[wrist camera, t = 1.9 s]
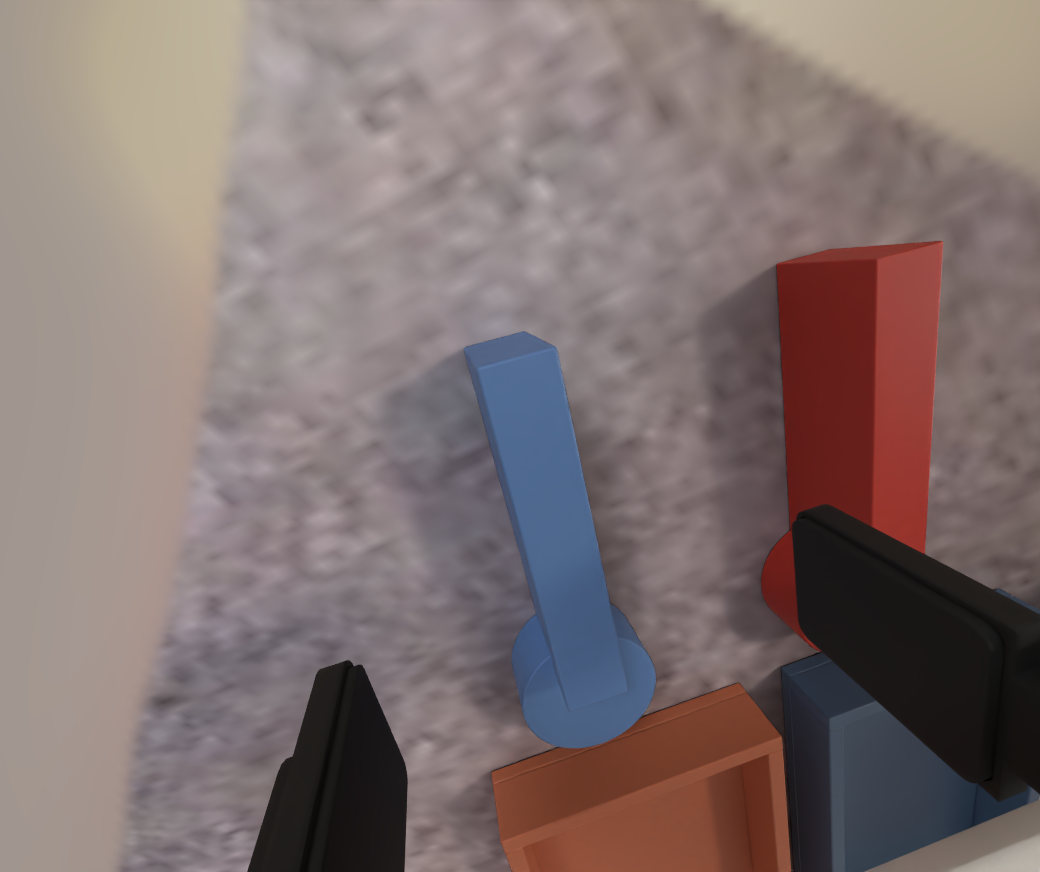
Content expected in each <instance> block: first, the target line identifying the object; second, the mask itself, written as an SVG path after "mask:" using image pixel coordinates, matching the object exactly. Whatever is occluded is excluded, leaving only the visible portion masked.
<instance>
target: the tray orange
mask: <svg viewBox="0 0 1040 872" xmlns="http://www.w3.org/2000/svg"><path fill="white" fill-rule="evenodd" d="M782 748H783V745H782V737H781V735H780V734H779V733H778V731H777V730H776V729H775V728H774V726H773V725H772V724H771V723H770V721H769V720H768V719H767V717H766V716H765V715H764V714H763V712H762V711H761V710H760V709H759V707H758V706H757V705H756V704H755V702H754V701H753V700H752V698H751V697H750V696H749V695H748V694H747V693H746V691H745V689H744V688H743V687H742V685H741V684H740V683H736V684H734V685H731V686H728V687H725V688H723V689H720V690H717V691H714V692H712V693H709V694H706V695H703V696H700V697H698V698H695V699H692V700H689V701H687V702H684V703H681V704H678V705H676V706H673V707H670V708H667V709H664V710H662V711H659V712H656V713H653V714H651V715H648V716H645V717H642V718H640V719H638V721H636V722H635V723H634V724H633V725H632V726H631V727H630V728H629V729H627V730H626V731H625V732H623V733H622V734H620V735H619V736H617V737H615V738H613V739H611V740H609V741H607V742H604V743H602V744H598V745H595V746H591V747H585V748H563V747H559V748H556V749H554V750H551V751H548V752H545V753H543V754H540V755H537V756H534V757H532V758H529V759H526V760H523V761H520V762H518V763H515V764H512V765H509V766H507V767H504V768H501V769H498V770H496V771H493V772H492V773H491V775H492V782H493V786H494V787H493V789H494V796H495V803H496V811H497V818H498V825H499V832H500V839H501V844H502V847H503V849H504V852H505V854H506V857H507V860H508V862H509V865H510V868H511V870H512V872H791V861H790V847H789V832H788V817H787V803H786V788H785V774H784V759H783V749H782Z"/></svg>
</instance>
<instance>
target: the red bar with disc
mask: <svg viewBox="0 0 1040 872" xmlns="http://www.w3.org/2000/svg"><path fill="white" fill-rule="evenodd" d="M942 257H943V241H934V242H921V243H907V244H894V245H881V246H867V247H854V248H841V249H829V250H826V251H822V252H818V253H815V254H811V255H807V256H803V257H800V258H796V259H792V260H788V261H785V262H781V263H778V264H777V281H778V300H779V320H780V340H781V360H782V379H783V399H784V419H785V439H786V459H787V478H788V498H789V518H790V531H789V532H788V533H786V534H785V535H784V536H783V537H782V538H781V539H780V540H779V541H778V543H777V544H776V545H775V546H774V548H773V549H772V551H771V552H770V554H769V556H768V558H767V560H766V562H765V565H764V568H763V572H762V578H761V588H762V593H763V596H764V599H765V601H766V603H767V605H768V606H769V607H770V609H771V610H772V611H773V612H774V613H775V614H777V615H778V616H779V617H780V618H781V619H782V620H783V621H784V622H785V623H786V624H787V625H788V626H789V627H790V628H791V629H792V630H793V631H795V632H796V633H797V634H798V635H799V636H800V637H801V638H802V639H803V640H804V641H805V642H806V643H807V644H808V645H810V646H811V647H812V648H814V649H816V650H819V649H818V648H817V647H816V646H815V645H814V644H813V643H812V642H811V641H809V640H808V638H807V637H806V636H805V635H804V634H803V632H802V630H801V628H800V626H799V623H798V612H797V598H796V584H795V569H794V555H793V541H792V523H793V522H794V521H796V517H797V514H798V513H799V512H801V511H804V510H807V509H810V508H813V507H816V506H819V505H822V504H828V505H831V506H833V507H835V508H837V509H839V510H841V511H843V512H845V513H846V514H848V515H850V516H852V517H854V518H856V519H858V520H860V521H862V522H864V523H866V524H868V525H869V526H871V527H873V528H875V529H877V530H879V531H881V532H883V533H885V534H887V535H889V536H891V537H892V538H894V539H896V540H898V541H900V542H902V543H904V544H906V545H908V546H910V547H912V548H914V549H915V550H917V551H919V552H921V553H923V554H925V540H926V524H927V507H928V490H929V474H930V457H931V440H932V424H933V407H934V390H935V373H936V357H937V340H938V323H939V307H940V290H941V273H942ZM819 651H821V650H819ZM821 652H822V651H821Z"/></svg>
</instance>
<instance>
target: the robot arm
mask: <svg viewBox="0 0 1040 872" xmlns="http://www.w3.org/2000/svg"><path fill="white" fill-rule="evenodd" d="M792 541H793V555H794V569H795V584H796V598H797V612H798V623H799V626H800V628H801V630H802V632H803V634H804V635H805V636H806V637H807V638H808V640H809V641H811V642H812V643H813V644H814V645H815V646H816V647H817V648H818V649H819V650H821V651H822V652H823V653H824V654H825V655H826V656H827V657H828V658H829V659H831V660H832V661H833V662H834V663H835V664H836V665H837V666H838V667H839V668H841V669H842V670H843V671H844V672H845V673H846V674H847V675H848V676H849V677H850V678H852V679H853V680H854V681H855V682H856V683H857V684H858V685H859V686H860V687H862V688H863V689H864V690H865V691H866V692H867V693H868V694H869V695H870V696H872V697H873V698H874V699H875V700H876V701H877V702H878V703H879V704H880V705H882V706H883V707H884V708H885V709H886V710H887V711H888V712H889V713H890V714H891V715H893V716H894V717H895V718H896V719H897V720H898V721H899V722H900V723H901V724H903V725H904V726H905V727H906V728H907V729H908V730H909V731H910V732H911V733H913V734H914V735H915V736H916V737H917V738H918V739H919V740H920V741H921V742H922V743H924V744H925V745H926V746H927V747H928V748H929V749H930V750H931V751H932V752H934V753H935V754H936V755H937V756H938V757H939V758H940V759H941V760H942V761H944V762H945V763H946V764H947V765H948V766H949V767H950V768H951V769H952V770H954V771H955V772H956V773H957V774H958V775H959V776H960V777H962V778H963V779H964V780H966V781H968V782H970V783H974V784H976V783H977V784H979V785H980V786H981V787H982V788H983V789H984V790H985V791H986V792H988V793H989V794H990V795H991V796H992V797H993V798H994V799H995V800H997V801H998V802H1000V801H1003V800H1005V799H1007V798H1010V797H1012V796H1015V795H1017V794H1019V793H1022V792H1024V791H1027V786H1028V785H1029V786H1030V787H1031V788H1032V789H1034V790H1035V791H1036V792H1037V793H1039V794H1040V614H1038V613H1036V612H1034V611H1032V610H1030V609H1029V608H1027V607H1025V606H1023V605H1021V604H1019V603H1017V602H1015V601H1013V600H1011V599H1009V598H1007V597H1006V596H1004V595H1002V594H1000V593H998V592H996V591H994V590H992V589H990V588H988V587H986V586H984V585H983V584H981V583H979V582H977V581H975V580H973V579H971V578H969V577H967V576H965V575H963V574H961V573H960V572H958V571H956V570H954V569H952V568H950V567H948V566H946V565H944V564H942V563H940V562H938V561H937V560H935V559H933V558H931V557H929V556H927V555H925V554H923V553H921V552H919V551H917V550H915V549H914V548H912V547H910V546H908V545H906V544H904V543H902V542H900V541H898V540H896V539H894V538H892V537H891V536H889V535H887V534H885V533H883V532H881V531H879V530H877V529H875V528H873V527H871V526H869V525H868V524H866V523H864V522H862V521H860V520H858V519H856V518H854V517H852V516H850V515H848V514H846V513H845V512H843V511H841V510H839V509H837V508H835V507H833V506H831V505H828V504H822V505H819V506H816V507H813V508H810V509H807V510H804V511H801V512H799V513H798V514H797V517H796V521H794V522H793V523H792ZM407 785H408V780H407V771H406V766H405V762H404V760H403V757H402V755H401V753H400V750H399V748H398V746H397V743H396V741H395V739H394V736H393V734H392V732H391V729H390V727H389V725H388V722H387V720H386V718H385V716H384V713H383V711H382V709H381V706H380V704H379V702H378V699H377V697H376V695H375V692H374V690H373V688H372V685H371V683H370V681H369V679H368V676H367V674H366V672H365V669H364V667H363V666H362V665H357V666H354V665H353V664H352V662H351V661H348V660H347V661H344V662H341V663H338V664H335V665H332V666H329V667H326V668H323V669H320V670H319V671H318V672H317V674H316V677H315V681H314V684H313V688H312V691H311V695H310V698H309V702H308V705H307V709H306V712H305V716H304V719H303V723H302V726H301V730H300V733H299V737H298V740H297V743H296V747H295V750H294V754H293V757H290V758H287V759H286V760H285V761H284V762H283V763H282V764H281V767H280V769H279V771H278V774H277V777H276V781H275V784H274V787H273V790H272V794H271V797H270V800H269V803H268V806H267V810H266V813H265V816H264V819H263V823H262V826H261V829H260V832H259V836H258V839H257V842H256V845H255V849H254V852H253V855H252V858H251V862H250V865H249V868H248V871H247V872H404V868H405V840H406V813H407ZM865 872H1040V800H1038V801H1035V802H1032V803H1030V804H1027V805H1025V806H1022V807H1020V808H1017V809H1015V810H1012V811H1010V812H1008V813H1005V814H1003V815H1000V816H998V817H996V818H993V819H991V820H988V821H986V822H983V823H981V824H979V825H976V826H974V827H971V828H969V829H966V830H964V831H962V832H959V833H957V834H954V835H952V836H949V837H947V838H945V839H942V840H940V841H937V842H935V843H932V844H930V845H928V846H925V847H923V848H920V849H918V850H915V851H913V852H911V853H908V854H906V855H903V856H901V857H898V858H896V859H894V860H891V861H889V862H886V863H884V864H881V865H879V866H877V867H874V868H872V869H870V870H867V871H865Z"/></svg>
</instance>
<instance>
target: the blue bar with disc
mask: <svg viewBox="0 0 1040 872" xmlns="http://www.w3.org/2000/svg"><path fill="white" fill-rule="evenodd" d="M464 353H465V356H466V360H467V363H468V367H469V371H470V374H471V378H472V382H473V385H474V389H475V392H476V396H477V400H478V403H479V407H480V411H481V414H482V418H483V422H484V425H485V429H486V432H487V436H488V440H489V443H490V447H491V451H492V454H493V458H494V462H495V465H496V469H497V472H498V476H499V480H500V483H501V487H502V491H503V494H504V498H505V501H506V505H507V509H508V512H509V516H510V520H511V523H512V527H513V531H514V534H515V538H516V541H517V545H518V549H519V552H520V556H521V560H522V563H523V567H524V570H525V574H526V578H527V581H528V585H529V589H530V592H531V596H532V600H533V603H534V607H535V610H536V614H535V615H534V616H533V617H532V618H531V619H530V620H529V621H528V622H527V623H526V624H525V625H524V627H523V628H522V629H521V631H520V633H519V634H518V636H517V638H516V641H515V643H514V647H513V651H512V667H513V672H514V676H515V680H516V685H517V689H518V693H519V698H520V702H521V706H522V711H523V715H524V718H525V721H526V723H527V725H528V726H529V728H530V729H531V730H532V732H533V733H534V734H535V735H536V736H538V737H539V738H540V739H542V740H543V741H545V742H547V743H549V744H552V745H554V746H558V747H563V748H585V747H591V746H595V745H598V744H602V743H604V742H607V741H609V740H611V739H613V738H615V737H617V736H619V735H620V734H622V733H623V732H625V731H626V730H627V729H629V728H630V727H631V726H632V725H633V724H634V723H635V722H636V721H638V719H639V718H640V717H641V716H642V715H643V713H644V712H645V710H646V709H647V707H648V706H649V704H650V702H651V700H652V697H653V694H654V690H655V684H656V675H655V669H654V665H653V662H652V660H651V658H650V656H649V655H648V653H647V651H646V650H645V648H644V647H643V645H642V643H641V642H640V640H639V638H638V637H637V635H636V633H635V632H634V630H633V628H632V627H631V625H630V623H629V622H628V620H627V618H626V617H625V616H624V614H623V613H622V612H621V611H620V610H619V609H618V608H616V607H615V606H614V605H612V604H610V600H609V595H608V591H607V586H606V581H605V576H604V571H603V567H602V562H601V557H600V552H599V547H598V543H597V538H596V533H595V528H594V524H593V519H592V514H591V509H590V504H589V500H588V495H587V490H586V485H585V481H584V476H583V471H582V466H581V461H580V457H579V452H578V447H577V442H576V438H575V433H574V428H573V423H572V418H571V414H570V409H569V404H568V399H567V394H566V390H565V385H564V380H563V375H562V371H561V366H560V361H559V356H558V351H557V348H556V347H555V346H553V345H551V344H549V343H547V342H545V341H543V340H541V339H539V338H537V337H535V336H533V335H531V334H529V333H527V332H520V333H516V334H512V335H509V336H505V337H501V338H497V339H494V340H490V341H486V342H482V343H479V344H475V345H471V346H467V347H465V348H464Z"/></svg>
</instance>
